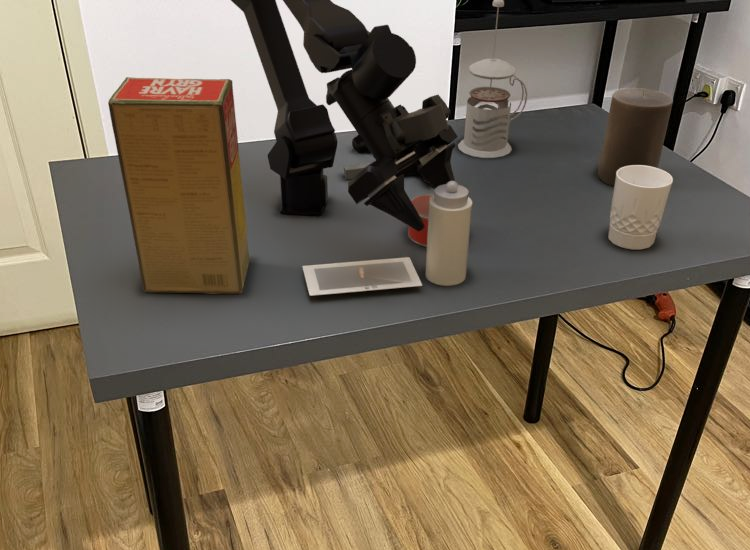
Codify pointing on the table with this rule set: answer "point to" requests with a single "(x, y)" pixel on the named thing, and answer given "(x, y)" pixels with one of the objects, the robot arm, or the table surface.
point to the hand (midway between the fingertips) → (440, 216)
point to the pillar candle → (634, 130)
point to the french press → (484, 137)
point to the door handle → (356, 169)
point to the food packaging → (182, 183)
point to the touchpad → (360, 276)
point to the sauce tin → (423, 210)
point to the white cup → (638, 205)
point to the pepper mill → (448, 234)
